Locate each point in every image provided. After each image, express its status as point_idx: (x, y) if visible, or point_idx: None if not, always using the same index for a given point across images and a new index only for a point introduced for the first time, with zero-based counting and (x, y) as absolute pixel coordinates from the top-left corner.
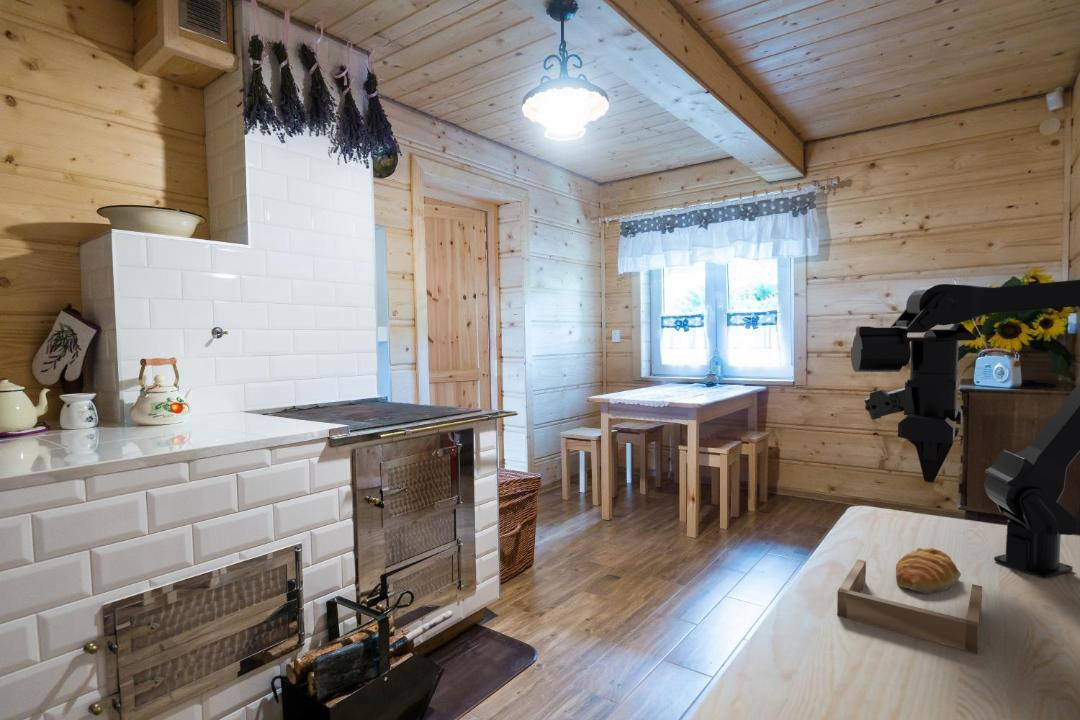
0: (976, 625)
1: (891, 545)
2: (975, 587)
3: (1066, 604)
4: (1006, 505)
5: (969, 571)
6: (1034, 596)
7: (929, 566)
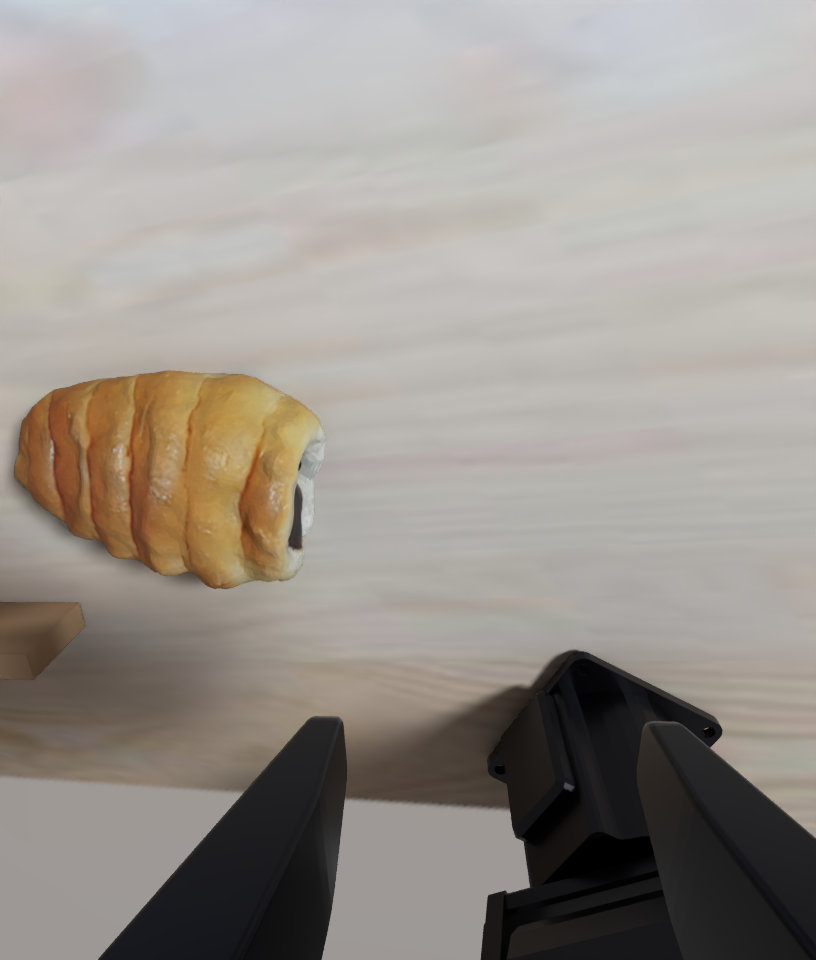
0: None
1: (553, 281)
2: (2, 664)
3: None
4: (518, 952)
5: (412, 584)
6: None
7: (95, 521)
